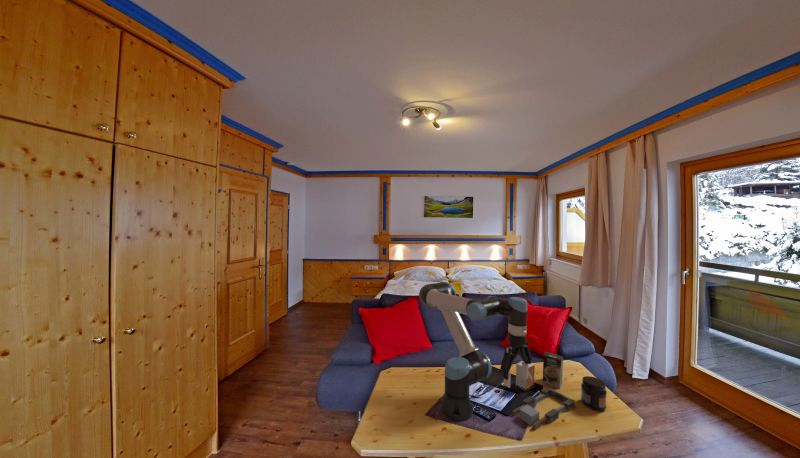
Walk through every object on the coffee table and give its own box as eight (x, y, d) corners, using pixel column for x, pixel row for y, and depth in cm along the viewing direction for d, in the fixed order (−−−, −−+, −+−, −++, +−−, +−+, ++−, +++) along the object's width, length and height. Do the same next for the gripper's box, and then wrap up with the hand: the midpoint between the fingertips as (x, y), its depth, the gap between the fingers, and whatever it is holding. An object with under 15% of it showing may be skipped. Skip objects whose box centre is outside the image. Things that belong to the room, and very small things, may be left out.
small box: (525, 392, 148) (526, 368, 148) (515, 386, 153) (515, 363, 153) (534, 387, 152) (535, 364, 152) (523, 382, 158) (524, 359, 158)
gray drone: (509, 413, 131) (509, 407, 131) (547, 392, 149) (547, 386, 148) (537, 432, 120) (537, 425, 119) (574, 406, 137) (574, 400, 137)
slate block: (519, 418, 128) (519, 408, 128) (527, 413, 131) (527, 404, 131) (531, 426, 123) (531, 416, 123) (539, 421, 126) (539, 411, 126)
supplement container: (611, 409, 135) (612, 385, 135) (595, 413, 132) (596, 388, 132) (590, 396, 145) (591, 374, 145) (575, 400, 142) (576, 377, 142)
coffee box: (542, 382, 158) (542, 354, 157) (545, 378, 162) (545, 351, 162) (560, 389, 152) (561, 360, 151) (562, 384, 156) (563, 356, 156)
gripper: (507, 342, 112) (506, 394, 112) (541, 330, 125) (539, 377, 126) (492, 336, 118) (490, 385, 118) (525, 325, 131) (524, 370, 132)
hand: (516, 381), depth 122 cm, fingers open, 12 cm apart
